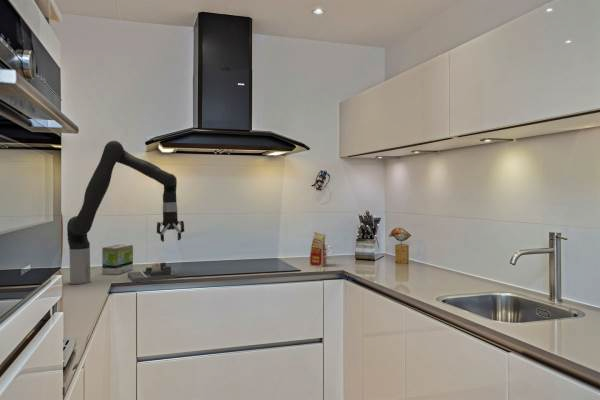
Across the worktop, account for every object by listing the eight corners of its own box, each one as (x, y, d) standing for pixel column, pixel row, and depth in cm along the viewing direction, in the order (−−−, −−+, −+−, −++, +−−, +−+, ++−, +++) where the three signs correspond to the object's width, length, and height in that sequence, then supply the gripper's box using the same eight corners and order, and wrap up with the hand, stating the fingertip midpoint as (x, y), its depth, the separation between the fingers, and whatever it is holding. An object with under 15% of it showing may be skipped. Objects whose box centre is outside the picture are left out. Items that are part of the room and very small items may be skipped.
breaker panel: (133, 282, 226) (132, 270, 226) (127, 276, 242) (127, 265, 241) (177, 278, 236) (177, 266, 236) (169, 272, 252) (169, 261, 252)
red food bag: (309, 266, 267) (308, 232, 266) (313, 263, 275) (313, 231, 275) (324, 267, 264) (323, 233, 263) (328, 264, 272) (328, 231, 272)
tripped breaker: (152, 273, 237) (152, 264, 237) (151, 272, 240) (151, 263, 240) (160, 273, 239) (160, 263, 239) (159, 272, 242) (159, 262, 242)
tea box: (118, 274, 246) (117, 247, 246) (101, 274, 248) (101, 247, 248) (133, 269, 261) (133, 244, 260) (118, 269, 263) (117, 243, 262)
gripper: (181, 209, 250) (182, 239, 250) (154, 211, 243) (155, 241, 243) (185, 210, 243) (186, 240, 244) (158, 211, 236) (159, 242, 237)
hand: (170, 240), depth 244 cm, fingers open, 8 cm apart
